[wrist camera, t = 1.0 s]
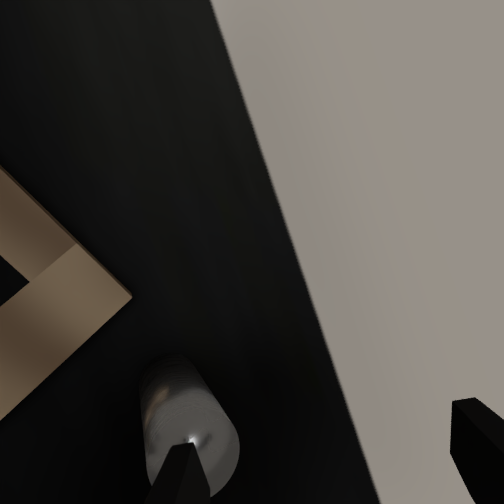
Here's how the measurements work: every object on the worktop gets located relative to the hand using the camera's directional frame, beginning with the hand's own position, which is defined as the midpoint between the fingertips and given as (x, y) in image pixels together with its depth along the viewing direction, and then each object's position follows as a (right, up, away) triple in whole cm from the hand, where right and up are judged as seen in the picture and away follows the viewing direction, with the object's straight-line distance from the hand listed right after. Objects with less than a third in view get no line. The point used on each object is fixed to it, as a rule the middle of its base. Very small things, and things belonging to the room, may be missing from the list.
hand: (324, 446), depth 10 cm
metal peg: (-7, -2, +10) cm, 12 cm away
